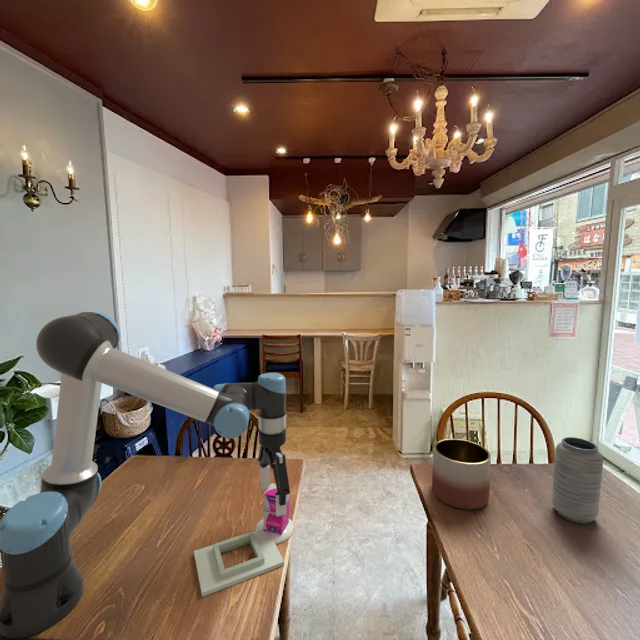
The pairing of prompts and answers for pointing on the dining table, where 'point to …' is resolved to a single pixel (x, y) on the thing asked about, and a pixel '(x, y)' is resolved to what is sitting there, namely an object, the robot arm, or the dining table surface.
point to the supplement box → (274, 512)
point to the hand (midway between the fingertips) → (272, 500)
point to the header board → (220, 578)
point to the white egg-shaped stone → (277, 537)
